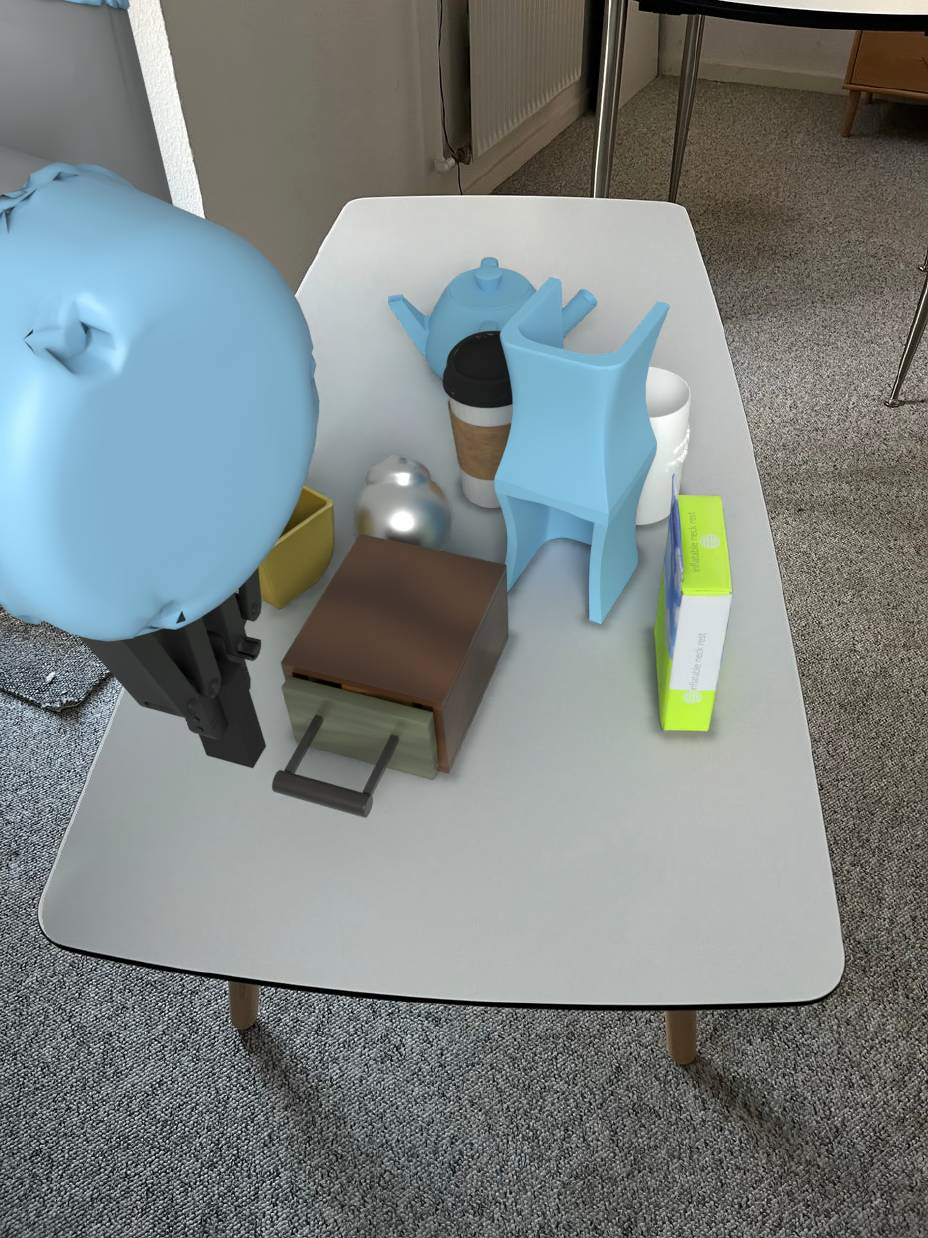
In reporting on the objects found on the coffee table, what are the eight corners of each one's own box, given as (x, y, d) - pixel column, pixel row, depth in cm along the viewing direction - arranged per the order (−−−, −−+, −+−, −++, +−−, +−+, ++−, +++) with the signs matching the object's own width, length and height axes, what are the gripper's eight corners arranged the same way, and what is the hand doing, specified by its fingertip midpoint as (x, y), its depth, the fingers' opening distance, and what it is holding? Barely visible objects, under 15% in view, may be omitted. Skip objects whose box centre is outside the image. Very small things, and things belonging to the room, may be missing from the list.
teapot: (509, 427, 110) (507, 331, 102) (390, 370, 118) (379, 276, 110) (599, 361, 118) (604, 266, 110) (481, 311, 126) (477, 220, 118)
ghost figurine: (467, 527, 100) (462, 440, 93) (439, 597, 94) (430, 511, 86) (376, 513, 102) (364, 427, 95) (342, 581, 96) (326, 495, 88)
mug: (688, 451, 106) (702, 346, 97) (676, 530, 98) (690, 423, 89) (605, 442, 108) (612, 338, 99) (587, 520, 100) (592, 413, 91)
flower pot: (211, 588, 96) (188, 512, 89) (283, 537, 100) (266, 460, 94) (277, 634, 92) (257, 557, 85) (349, 578, 96) (336, 501, 89)
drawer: (399, 858, 75) (390, 803, 70) (255, 815, 78) (236, 760, 73) (491, 651, 88) (489, 592, 83) (364, 621, 91) (355, 563, 86)
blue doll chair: (645, 552, 96) (671, 303, 78) (601, 624, 91) (617, 373, 72) (547, 521, 100) (549, 275, 82) (498, 588, 94) (489, 339, 76)
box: (710, 734, 82) (742, 572, 70) (656, 732, 83) (678, 571, 70) (699, 633, 89) (726, 470, 77) (650, 632, 90) (668, 469, 77)
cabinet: (449, 774, 81) (442, 702, 75) (298, 734, 84) (280, 662, 78) (508, 638, 90) (506, 564, 84) (371, 606, 93) (359, 533, 87)
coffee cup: (549, 472, 105) (551, 338, 94) (517, 526, 100) (515, 390, 89) (471, 453, 107) (464, 320, 97) (435, 504, 102) (424, 370, 91)
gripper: (90, 488, 33) (241, 878, 50) (278, 279, 41) (353, 675, 58) (-104, 446, 35) (105, 835, 52) (112, 255, 43) (231, 645, 60)
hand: (236, 750), depth 55 cm, fingers closed
